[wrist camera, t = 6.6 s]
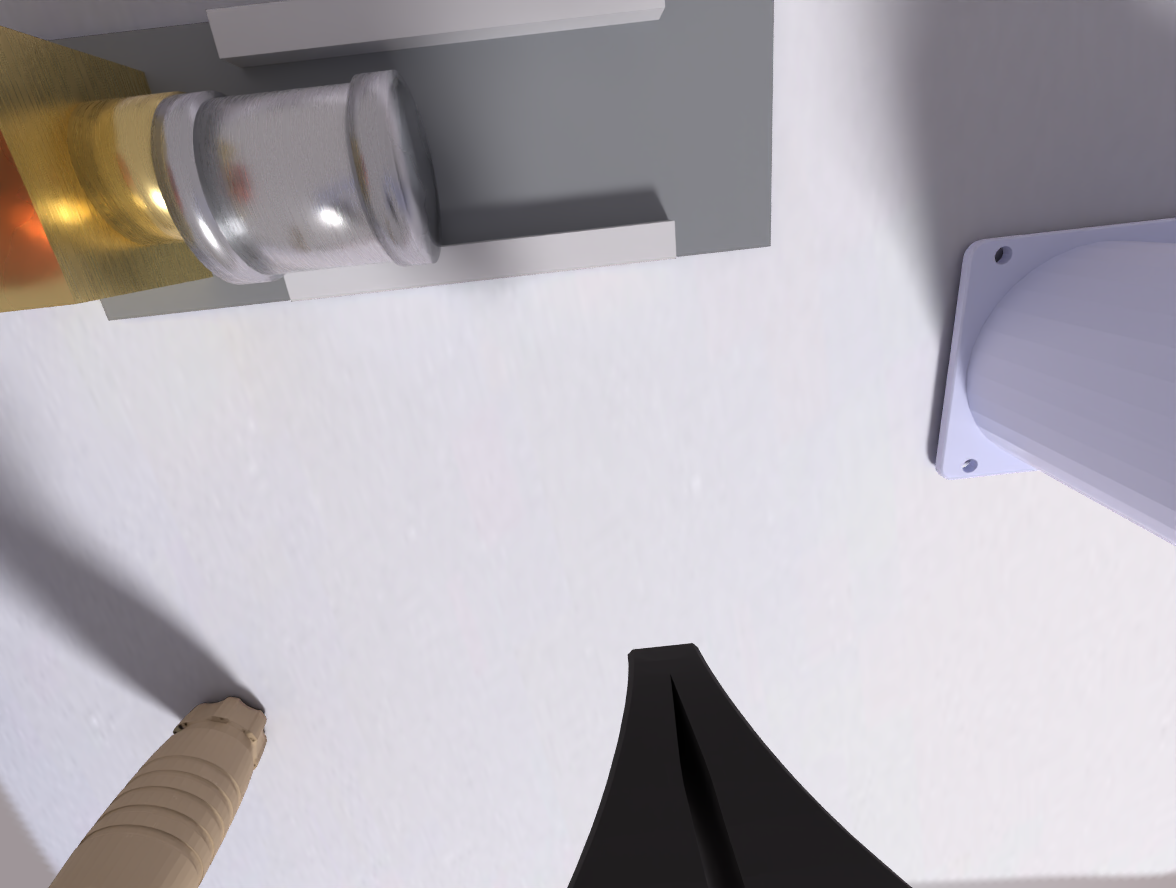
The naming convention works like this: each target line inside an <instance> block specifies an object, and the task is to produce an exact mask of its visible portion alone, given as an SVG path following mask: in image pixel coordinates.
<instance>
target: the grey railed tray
mask: <svg viewBox="0 0 1176 888" xmlns="http://www.w3.org/2000/svg"><path fill="white" fill-rule="evenodd" d="M206 13H207V17H208V20H209V22H203V23H195V24H186V25H177V26H169V27H160V28H152V29H143V30H134V31H126V32H117V33H108V34H100V35H91V36H82V37H74V38H65V39H56V40H48V41H49V42H53V43H56V44H59V45H62V46H65V47H68V48H71V49H74V50H77V51H81V52H84V53H87V54H90V55H93V56H96V57H99V58H102V59H105V60H109V61H112V62H115V63H118V64H121V65H124V66H127V67H130V68H133V69H137V70H140V71H143V72H144V73H145V76H146V79H147V82H148V85H149V88H150V91H151V94H157V93H165V92H174V91H181V92H185V93H192V92H201V91H210V90H211V91H218V92H221V93H223V94H225V95H227V96H236V95H245V94H254V93H263V92H271V91H280V90H289V89H298V88H307V87H316V86H324V85H333V84H342V83H350V82H351V80H352V78H353V76H354V75H356V74H360V73H369V72H378V71H386V70H396V71H397V72H398V73H400V75H401V76H402V77H403V79H404V80H405V82H406V84H407V86H408V88H409V90H410V92H411V94H412V96H413V98H414V101H415V104H416V106H417V109H418V112H419V115H420V118H421V121H422V124H423V127H424V131H425V134H426V138H427V142H428V145H429V149H430V154H431V158H432V162H433V167H434V172H435V178H436V183H437V189H438V196H439V203H440V213H441V228H442V242H441V252H440V256H439V259H438V261H437V262H436V263H433V264H424V265H415V266H406V267H401V266H398V265H397V264H395V263H394V262H386V263H377V264H368V265H359V266H350V267H341V268H332V269H323V270H314V271H305V272H296V273H287V274H285V275H284V276H283V277H282V278H281V279H279V280H276V281H271V282H262V283H253V284H244V285H237V284H232V283H228V282H226V281H224V280H222V279H220V278H219V277H217V276H216V275H214V274H213V273H212V274H213V277H210V278H205V279H200V280H195V281H190V282H185V283H180V284H175V285H170V286H164V287H159V288H154V289H149V290H144V291H139V292H134V293H129V294H124V295H119V296H114V297H109V298H104V299H100V301H101V303H102V306H103V308H104V311H105V313H106V315H107V318H108V320H109V321H110V320H118V319H127V318H136V317H145V316H154V315H163V314H172V313H181V312H190V311H199V310H207V309H216V308H225V307H234V306H243V305H252V304H261V303H270V302H279V301H288V300H291V302H293V301H302V300H311V299H320V298H329V297H338V296H346V295H355V294H364V293H373V292H382V291H391V290H400V289H409V288H418V287H427V286H435V285H444V284H453V283H462V282H471V281H480V280H489V279H498V278H507V277H516V276H524V275H533V274H542V273H551V272H560V271H569V270H578V269H587V268H596V267H605V266H613V265H622V264H631V263H640V262H649V261H658V260H667V259H676V257H679V256H688V255H697V254H706V253H715V252H724V251H732V250H741V249H750V248H759V247H768V246H770V244H771V172H772V99H773V27H774V0H285V1H277V2H268V3H259V4H251V5H242V6H234V7H225V8H216V9H208V10H206Z"/></svg>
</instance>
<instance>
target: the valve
mask: <svg viewBox="0 0 1176 888" xmlns="http://www.w3.org/2000/svg"><path fill="white" fill-rule="evenodd" d="M184 93H185V92H181V91H174V92H165V93H157V94H151V91H150V88H149V85H148V82H147V79H146V76H145V73H144V72H143V71H140V70H137V69H133V68H130V67H127V66H124V65H121V64H118V63H115V62H112V61H109V60H105V59H102V58H99V57H96V56H93V55H90V54H87V53H84V52H81V51H77V50H74V49H71V48H68V47H65V46H62V45H59V44H56V43H53V42H49V41H46V40H43V39H40V38H37V37H34V36H31V35H28V34H25V33H21V32H18V31H15V30H12V29H9V28H6V27H3V26H0V312H9V311H18V310H27V309H36V308H44V307H53V306H62V305H71V304H78V303H83V302H88V301H93V300H98V299H104V298H109V297H114V296H119V295H124V294H129V293H134V292H139V291H144V290H149V289H154V288H159V287H164V286H170V285H175V284H180V283H185V282H190V281H195V280H200V279H205V278H210V277H213V274H212V272H211V271H210V270H209V269H207V268H206V267H205V266H204V265H203V264H202V263H201V262H200V261H199V260H198V258H197V257H196V256H195V255H194V253H193V252H192V251H191V250H190V248H189V247H188V245H187V244H186V242H185V241H184V240H183V238H182V236H181V235H180V233H179V231H178V230H177V228H176V226H175V224H174V222H173V220H172V218H171V216H170V214H169V212H168V210H167V207H166V205H165V203H164V200H163V198H162V195H161V192H160V189H159V186H158V182H157V179H156V175H155V171H154V166H153V161H152V154H151V144H150V138H151V124H152V119H153V115H154V112H155V110H156V108H157V106H158V104H159V103H160V102H161V101H162V100H163V99H164V98H166V97H168V96H170V95H175V94H184Z"/></svg>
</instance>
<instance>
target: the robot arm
mask: <svg viewBox="0 0 1176 888" xmlns="http://www.w3.org/2000/svg"><path fill="white" fill-rule="evenodd" d="M1001 247H1002V249H1003V255H1002V258H1001V259H1000V260H999V261H998V262H996V261H995V254H996V252H997V251H998V250H999V249H1000V248H1001ZM969 459H970V463H969V464H968V465H967V466H966V467H964V468H962V466H963V464H964V463H965V462H966V461H967V460H969ZM935 466H936V471H937V472H938V474H940V475H941V476H942V477H944V478H946V479H949V480H955V479H965V478H974V477H983V476H992V475H1001V474H1010V473H1019V472H1029V471H1038V470H1039V471H1041V472H1043V473H1045V474H1047V475H1048V476H1050V477H1052V478H1054V479H1056V480H1057V481H1059V482H1061V483H1063V484H1065V485H1066V486H1068V487H1070V488H1072V489H1074V490H1075V491H1077V492H1079V493H1081V494H1083V495H1084V496H1086V497H1088V498H1090V499H1092V500H1093V501H1095V502H1097V503H1099V504H1101V505H1102V506H1104V507H1106V508H1108V509H1110V510H1111V511H1113V512H1115V513H1117V514H1119V515H1120V516H1122V517H1124V518H1126V519H1128V520H1129V521H1131V522H1133V523H1135V524H1137V525H1138V526H1140V527H1142V528H1144V529H1146V530H1147V531H1149V532H1151V533H1153V534H1155V535H1156V536H1158V537H1160V538H1162V539H1164V540H1165V541H1167V542H1169V543H1171V544H1173V545H1174V546H1176V217H1175V218H1167V219H1158V220H1149V221H1140V222H1131V223H1122V224H1113V225H1104V226H1095V227H1086V228H1077V229H1069V230H1060V231H1051V232H1042V233H1033V234H1024V235H1015V236H1006V237H997V238H988V239H981V240H978V241H975V242H974V243H972V244H971V245H970V246H969V247H968V248H967V250H966V251H965V254H964V257H963V263H962V270H961V278H960V285H959V293H958V300H957V308H956V315H955V322H954V330H953V337H952V345H951V352H950V360H949V367H948V375H947V382H946V389H945V397H944V404H943V412H942V419H941V427H940V434H939V442H938V449H937V457H936V464H935ZM628 663H629V671H628V687H627V695H626V702H625V708H624V713H623V718H622V724H621V729H620V734H619V738H618V743H617V747H616V750H615V754H614V758H613V762H612V765H611V769H610V773H609V777H608V780H607V784H606V787H605V790H604V793H603V796H602V799H601V802H600V805H599V808H598V811H597V814H596V817H595V820H594V823H593V825H592V828H591V831H590V834H589V836H588V839H587V841H586V844H585V846H584V849H583V851H582V854H581V856H580V859H579V861H578V864H577V866H576V869H575V871H574V874H573V876H572V878H571V881H570V883H569V885H568V887H567V888H912V887H911V886H909V885H908V884H907V883H906V882H905V881H903V880H902V879H901V878H900V877H899V876H898V875H897V874H895V873H894V872H893V871H892V870H891V869H890V868H889V867H887V866H886V865H885V864H884V863H883V862H882V861H881V860H879V859H878V858H877V857H876V856H875V855H874V854H873V853H871V852H870V851H869V850H868V849H867V848H866V847H865V846H863V845H862V844H861V843H860V842H859V841H858V840H857V839H855V838H854V837H853V836H852V835H851V834H850V833H849V832H848V831H847V830H846V829H845V828H844V827H843V826H842V825H841V824H840V823H839V822H838V821H836V820H835V819H834V818H833V817H832V816H831V815H830V814H829V813H828V812H827V811H826V810H825V809H824V808H823V807H822V806H821V805H820V804H819V803H818V802H817V801H816V800H815V799H814V798H813V797H812V796H811V795H810V794H809V793H808V792H807V790H806V789H805V788H804V787H803V786H802V785H801V784H800V783H799V782H798V781H797V780H796V779H795V778H794V777H793V775H792V774H791V773H790V772H789V771H788V770H787V769H786V768H785V767H784V765H783V764H782V763H781V762H780V761H779V760H778V758H777V757H776V756H775V755H774V754H773V753H772V751H771V750H770V749H769V748H768V747H767V746H766V744H765V743H764V742H763V741H762V740H761V738H760V737H759V736H758V735H757V733H756V732H755V731H754V730H753V728H752V727H751V726H750V724H749V723H748V722H747V720H746V719H745V718H744V717H743V715H742V714H741V713H740V711H739V710H738V709H737V707H736V706H735V705H734V703H733V702H732V701H731V699H730V698H729V696H728V695H727V694H726V692H725V691H724V689H723V688H722V686H721V685H720V683H719V682H718V680H717V679H716V677H715V676H714V674H713V673H712V671H711V669H710V668H709V666H708V665H707V663H706V661H705V660H704V658H703V656H702V654H701V652H700V651H699V649H698V647H697V646H695V645H694V644H693V643H689V644H680V645H671V646H661V647H652V648H643V649H634V650H632V651H631V652H630V653H629V654H628Z"/></svg>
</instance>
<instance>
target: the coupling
mask: <svg viewBox="0 0 1176 888" xmlns="http://www.w3.org/2000/svg"><path fill="white" fill-rule="evenodd" d="M150 144H151V154H152V161H153V166H154V171H155V175H156V179H157V182H158V186H159V189H160V192H161V195H162V198H163V200H164V203H165V205H166V207H167V210H168V212H169V214H170V216H171V218H172V220H173V222H174V224H175V226H176V228H177V230H178V231H179V233H180V235H181V236H182V238H183V240H184V241H185V242H186V244H187V245H188V247H189V248H190V250H191V251H192V252H193V253H194V255H195V256H196V257H197V258H198V260H199V261H200V262H201V263H202V264H203V265H204V266H205V267H206V268H207V269H209V270H210V271H211V272H212V273H213V274H214V275H216V276H217V277H219V278H220V279H222V280H224V281H226V282H228V283H232V284H237V285H244V284H253V283H262V282H271V281H276V280H279V279H281V278H282V277H283V276H284V275H285V274H287V273H296V272H305V271H314V270H323V269H332V268H341V267H350V266H359V265H368V264H377V263H386V262H394V263H395V264H397V265H398V266H401V267H406V266H415V265H424V264H433V263H436V262H437V261H438V259H439V256H440V252H441V242H442V228H441V213H440V203H439V196H438V189H437V183H436V178H435V172H434V167H433V162H432V158H431V154H430V149H429V145H428V142H427V138H426V134H425V131H424V127H423V124H422V121H421V118H420V115H419V112H418V109H417V106H416V104H415V101H414V98H413V96H412V94H411V92H410V90H409V88H408V86H407V84H406V82H405V80H404V79H403V77H402V76H401V75H400V73H398V72H397V71H396V70H386V71H378V72H369V73H360V74H356V75H354V76H353V78H352V80H351V82H350V83H342V84H333V85H324V86H316V87H307V88H298V89H289V90H280V91H271V92H263V93H254V94H245V95H236V96H227V95H225V94H223V93H221V92H218V91H211V90H210V91H201V92H192V93H184V94H175V95H170V96H168V97H166V98H164V99H163V100H162V101H161V102H160V103H159V104H158V106H157V108H156V110H155V112H154V115H153V119H152V124H151V138H150Z"/></svg>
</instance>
